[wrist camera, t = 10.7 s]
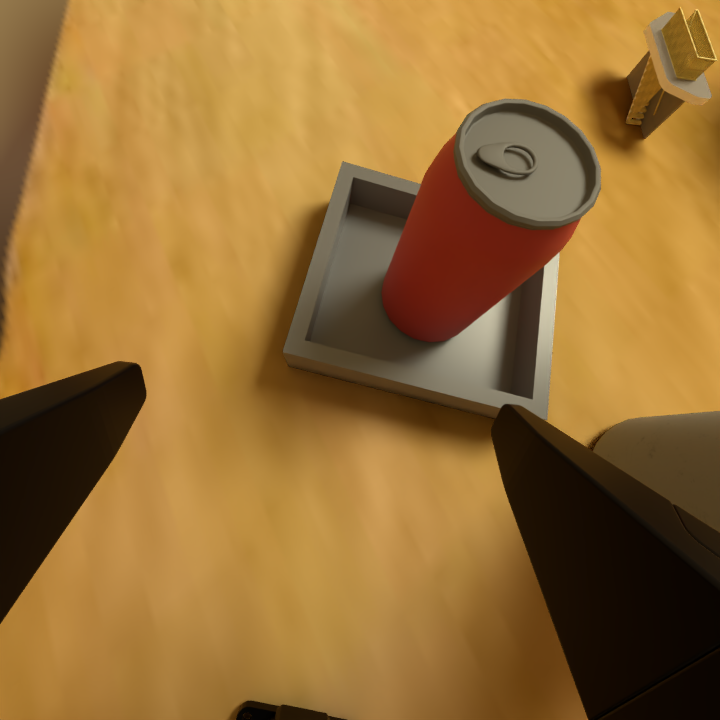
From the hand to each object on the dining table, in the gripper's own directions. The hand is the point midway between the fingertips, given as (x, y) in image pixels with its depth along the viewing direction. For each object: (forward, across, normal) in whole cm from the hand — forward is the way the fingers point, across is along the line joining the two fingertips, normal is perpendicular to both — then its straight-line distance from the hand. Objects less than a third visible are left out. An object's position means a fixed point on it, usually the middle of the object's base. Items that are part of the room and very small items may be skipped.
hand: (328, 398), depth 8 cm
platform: (+34, -26, -14) cm, 45 cm away
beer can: (+16, -6, +2) cm, 17 cm away
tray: (+16, -6, +3) cm, 18 cm away
